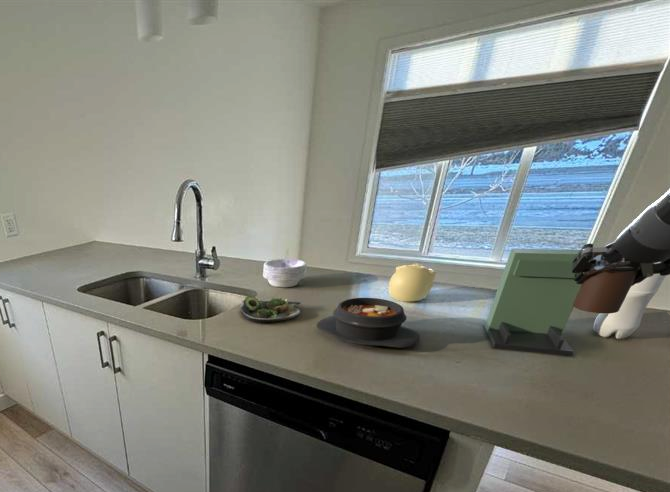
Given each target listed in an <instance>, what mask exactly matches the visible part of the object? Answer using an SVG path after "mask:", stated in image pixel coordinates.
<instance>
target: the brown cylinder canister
mask: <svg viewBox="0 0 670 492" xmlns="http://www.w3.org/2000/svg"><path fill="white" fill-rule="evenodd" d="M607 264H608V262H607ZM595 266H596V263H595V264H593V267H595ZM639 270H640V268H639V266H638V267H616V268H613V269H610V270H608V271H605V272H601V271H599V272H596V273H593V274H592V275H591V276H590V277H589V278H588V279H587V280H586V281H585V282H583V283H582V285H581V287H580V290H579V292H578V294H577V296H576V299H575V301H574V303H573V306H574V308H575V309H578V310H580V311H584V312H586V313H587V312H588V313H595V314H600V313H616V312H618V311H619V309H620V308H621V306H622V304H623V302H624V300H625V298H626V296H627V294H628V292H629V290H630V288H631V286H632V284H633V282H634V280H635V278H636V276H637V274H638V272H639Z"/></svg>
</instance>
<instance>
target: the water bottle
mask: <svg viewBox="0 0 670 492" xmlns="http://www.w3.org/2000/svg"><path fill="white" fill-rule="evenodd" d="M657 263H660V262H657ZM654 264H655V263H654ZM665 278H666V276H661V275H660V274H654V275H653V276H651V277H647V278H646V279H644V280H643V281H642V282H640V283H636V284H634V285H633V286H631V288H630V290H629V292H628V294H627V296H626V298H625V300H624V302H623V304H622V306H621V308H620V309H619V311H618V312H616V313H598V314H597V316H596V317H595V320H594V322H593V332H594V333H597V334H598V335H599V336H601V337H603V338H609V337H611V336H612V335H613V334H614V336H615V339H617V340H623V339H626V338H628V337H630V336H631V335H633V333H635V331H636V330H638V328H639V327H640V325H641V322H642V319H643V315H644V312H645V310H646V308H647V307H648V305H649V304H650V302H651V300H653V297H654V296H655V295H656V294H657V292H659V289H660V287H661V285H662V284H663V281H664V280H665Z"/></svg>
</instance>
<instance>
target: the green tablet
mask: <svg viewBox="0 0 670 492" xmlns="http://www.w3.org/2000/svg"><path fill="white" fill-rule="evenodd" d="M580 250H581V249H568V248H567V249H564V248H562V249H559V248H557V249H556V248H511V249H510V252H509V255H508V258H507V261H506V264H505V266H504V268H503V272H502V275H501V278H500V281H499V284H498V287H497V290H496V293H495V295H494V299H493V301H492V304H491V307H490V310H489V313H488V316H487V318H486V321H485V324H484V328H485V330H486V333H487V336H488V338H489V341H490V343H491V346H492V348H493V349H497V350H498V349H500V350H507V351H515V352H516V351H518V352H525V353H526V352H527V353H536V354H537V353H538V354H546V355H555V356H556V355H557V356H566V357H572V356H573V353H574V350H573V348H571V346H570V345H569V343H568V342H567V340H566V339H565V338H564V337H563V335H562V334H563V332H564V329H565V328H566V325H567V323H568V321H569V320H570V319H569V318H570V317H571V314H572V312H573V310H574V308H575V307H574V306H573V303H574V301H575V299H576V296H577V294H578V292H579V290H580V287H581V285H582V284H576V281H574V279H575V273H572V269H573V260H574V258H575V257H576V255H577V254H578V253H579V251H580Z"/></svg>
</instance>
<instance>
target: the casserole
mask: <svg viewBox="0 0 670 492" xmlns="http://www.w3.org/2000/svg"><path fill="white" fill-rule="evenodd" d="M406 321H407V315H406V314H405V310H404V308H403V306H402V305H400V304H399V303H397V302H395V301H393V300H388V299H383V298H378V297H377V298H376V297H354V298H347V299H344V300H343V301H340V302H339V303H338V305H337V307H336V308H335V309H334V310H333V312H332V315H329V316H327V317H324V318H322V319H320V320H319V321H318V322H317V323H316V328H317V329H318V330H320V331H323V332H324V333H328V334H330V335H331V336H333V337H335V338H336V339H339V340H341V341H344V342H346V343H350V344H356V345H360V346H361V345H362V346H373V347H378V346H379V347H386V348H387V347H389V348H395V349H396V348H397V349H401V348H403V349H404V348H407V347H412V346H414V345H417V344H418V343H419V342H420V340H421V334H420V333H419V332H418V331H416V330H414V329H412V328H409V327H405V326H403V324H404V323H405V322H406Z"/></svg>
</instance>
